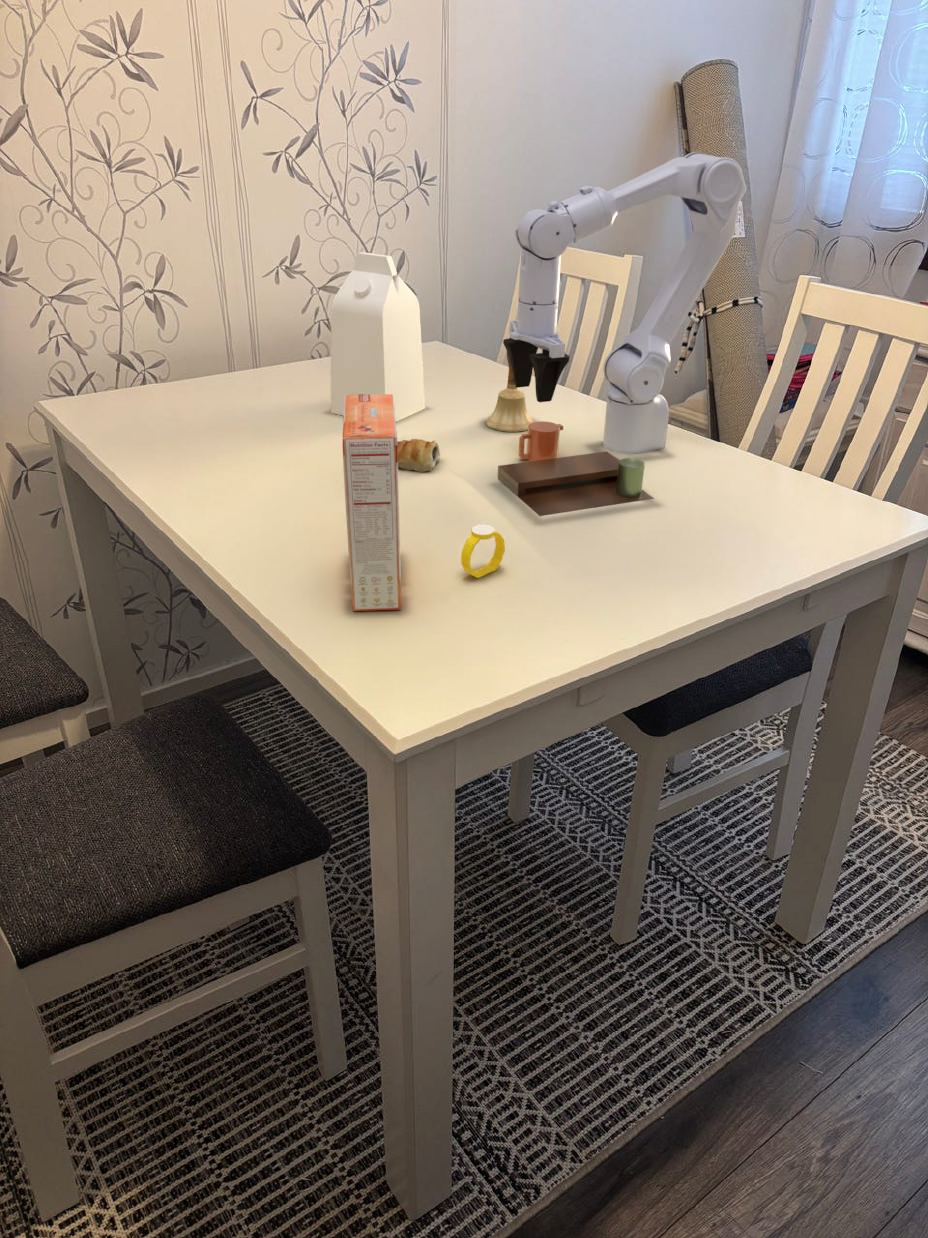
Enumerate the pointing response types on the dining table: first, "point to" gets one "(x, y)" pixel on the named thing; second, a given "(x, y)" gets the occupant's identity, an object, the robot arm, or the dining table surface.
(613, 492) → the step shelf
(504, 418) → the hand bell
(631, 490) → the tin
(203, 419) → the dining table surface
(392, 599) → the cracker box
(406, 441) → the pastry
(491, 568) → the watch
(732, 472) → the dining table surface
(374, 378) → the milk
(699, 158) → the robot arm
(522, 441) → the jug
